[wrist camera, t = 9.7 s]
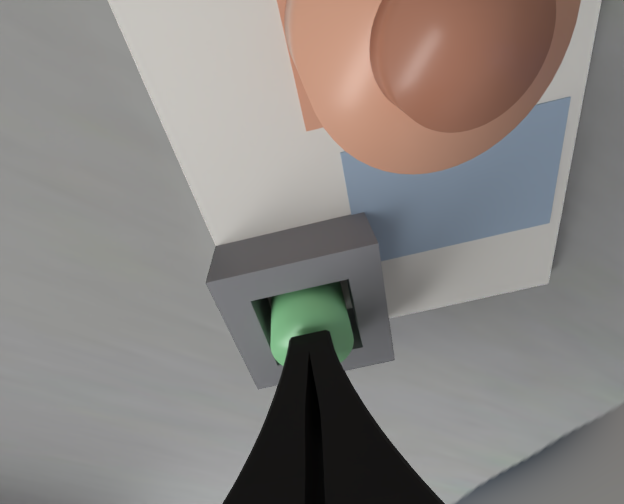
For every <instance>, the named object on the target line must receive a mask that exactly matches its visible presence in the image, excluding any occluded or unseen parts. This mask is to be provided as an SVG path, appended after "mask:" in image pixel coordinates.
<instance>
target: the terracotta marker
mask: <svg viewBox="0 0 624 504" xmlns="http://www.w3.org/2000/svg"><path fill="white" fill-rule="evenodd" d="M580 3H581V0H286V5H285V14H284V26H285V36H286V41H287V45H288V48H289V52H290V54H291V57H292V59H293V62H294V64H295V66H296V69H297V71H298V74H299V76H300V79H301V81H302V84H303V86H304V88H305V91H306V93H307V96H308V98H309V100H310V103H311V105H312V107H313V110H314V112H315V114H316V116H317V117H318V119H319V121H320V122H321V124H322V126H323V127H324V129H325V130H326V131H327V133H328V134H329V135H330V136H331V138H332V139H333V140H334V141H335V142H336V143H337V144H338V145H339V146H340V147H341V148H342V149H343V150H344V151H346V152H347V153H348V154H350V155H351V156H353V157H354V158H356V159H357V160H359V161H361V162H363V163H365V164H367V165H369V166H371V167H374V168H377V169H380V170H382V171H386V172H392V173H397V174H412V175H413V174H427V173H432V172H437V171H442V170H445V169H448V168H452V167H455V166H458V165H460V164H462V163H464V162H467V161H469V160H471V159H473V158H475V157H477V156H478V155H480V154H482V153H483V152H485V151H487V150H488V149H490V148H491V147H492V146H494V145H495V144H497V143H498V142H499V141H501V140H502V139H503V138H504V137H505V136H507V135H508V134H509V133H510V132H511V131H512V130H513V129H515V128H516V126H517V125H518V124H519V123H520V122H521V121H522V120H523V119H524V118H525V117H526V116H527V115H528V114H529V112H530V111H531V110H532V109H533V107H534V106H535V105H536V104H537V102H538V101H539V100H540V98H541V97H542V95H543V94H544V92H545V91H546V89H547V88H548V86H549V85H550V83H551V82H552V80H553V78H554V76H555V74H556V72H557V70H558V69H559V67H560V65H561V63H562V60H563V58H564V56H565V53H566V51H567V49H568V46H569V44H570V41H571V38H572V34H573V31H574V28H575V25H576V21H577V17H578V12H579V7H580Z"/></svg>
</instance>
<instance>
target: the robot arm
mask: <svg viewBox="0 0 624 504" xmlns="http://www.w3.org/2000/svg"><path fill="white" fill-rule="evenodd" d="M223 504H445V503H444V502H443V501H442V500H441V499H440V498H439V497H438V496H437V495H436V494H435V493H434V492H433V491H432V490H431V489H430V487H429V486H428V485H427V484H426V483H425V482H424V481H423V480H422V479H421V477H420V476H419V475H418V474H417V473H416V472H415V471H414V469H413V468H412V467H411V466H410V465H409V463H408V462H407V461H406V460H405V459H404V457H403V456H402V455H401V454H400V453H399V451H398V450H397V449H396V448H395V446H394V445H393V444H392V443H391V441H390V440H389V439H388V438H387V436H386V435H385V434H384V432H383V431H382V430H381V428H380V427H379V425H378V424H377V423H376V421H375V420H374V418H373V417H372V416H371V414H370V413H369V411H368V410H367V408H366V407H365V405H364V404H363V402H362V400H361V399H360V397H359V396H358V394H357V392H356V391H355V389H354V387H353V386H352V384H351V382H350V380H349V378H348V377H347V375H346V373H345V371H344V369H343V367H342V365H341V363H340V361H339V359H338V356H337V354H336V352H335V349H334V346H333V342H332V338H331V335H330V331H327V330H323V331H318V332H313V333H309V334H304V335H300V336H295V337H291V339H290V340H289V344H288V350H287V354H286V358H285V362H284V366H283V370H282V373H281V377H280V380H279V383H278V386H277V389H276V392H275V395H274V398H273V401H272V404H271V406H270V409H269V411H268V414H267V417H266V419H265V422H264V424H263V427H262V429H261V431H260V434H259V436H258V438H257V440H256V442H255V444H254V447H253V449H252V451H251V453H250V455H249V457H248V459H247V461H246V463H245V465H244V467H243V469H242V470H241V472H240V474H239V476H238V478H237V480H236V482H235V483H234V485H233V487H232V489H231V490H230V492H229V494H228V495H227V497H226V499H225V500H224V502H223Z"/></svg>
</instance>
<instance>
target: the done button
mask: <svg viewBox="0 0 624 504" xmlns="http://www.w3.org/2000/svg"><path fill="white" fill-rule="evenodd" d="M323 330H327V331H330V335H331V338H332V342H333V346H334V349H335V352H336V354H337V356H338V359H339V361H340V363H341V362H342V361H344V360H345V359H346V358H347V356H348V355H349V354H350V352H351V350H352V348H353V344H354V338H353V333H352V329H351V325H350V320H349V316H348V312H347V308H346V304H345V300H344V296H343V292H342V287H341V284H340V281H338V282H334V283H329V284H325V285H320V286H316V287H311V288H307V289H303V290H298V291H294V292H289V293H285V294H280V295H276V296H272V297H271V352H272V355H273V356H274V358H275V359H276V361H277V362H278V363H280V364H281V365H282V366H284V362H285V358H286V354H287V350H288V344H289V340H290V339H291V337H295V336H300V335H304V334H309V333H313V332H318V331H323Z"/></svg>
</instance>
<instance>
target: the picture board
mask: <svg viewBox="0 0 624 504" xmlns="http://www.w3.org/2000/svg"><path fill="white" fill-rule="evenodd" d="M601 1H602V0H581V3H580V7H579V12H578V17H577V21H576V25H575V28H574V31H573V34H572V38H571V41H570V44H569V46H568V49H567V51H566V53H565V56H564V58H563V60H562V63H561V65H560V67H559V69H558V70H557V72H556V74H555V76H554V78H553V80H552V82H551V83H550V85H549V86H548V88H547V89H546V91H545V92H544V94H543V95H542V97H541V98H540V100H539V101H538V102H537V104H536V105H535V106H534V107H533V109H532V110H531V111H530V112H529V114H528V115H527V116H526V117H525V118H524V119H523V120H522V121H521V122H520V123H519V124H518V125H517V126H516V128H515V129H513V130H512V131H511V132H510V133H509V134H508V135H507V136H505V137H504V138H503V139H502V140H501V141H499V142H498V143H497V144H495V145H494V146H492V147H491V148H490V149H488V150H487V151H485V152H483V153H482V154H480V155H478V156H477V157H475V158H473V159H471V160H469V161H467V162H464V163H462V164H460V165H458V166H455V167H452V168H448V169H445V170H442V171H437V172H432V173H427V174H413V175H412V174H397V173H392V172H386V171H382V170H380V169H377V168H374V167H371V166H369V165H367V164H365V163H363V162H361V161H359V160H357V159H356V158H354V157H353V156H351V155H350V154H348V153H347V152H346V151H344V150H343V149H342V148H341V147H340V146H339V145H338V144H337V143H336V142H335V141H334V140H333V139H332V138H331V136H330V135H329V134H328V133H327V131H326V130H325V129H324V127H323V126H322V124H321V122H320V121H319V119H318V117H317V116H316V114H315V112H314V110H313V107H312V105H311V103H310V100H309V98H308V96H307V93H306V91H305V88H304V86H303V84H302V81H301V79H300V76H299V74H298V71H297V69H296V66H295V64H294V62H293V59H292V57H291V54H290V52H289V48H288V45H287V41H286V36H285V26H284V14H285V5H286V0H108V2H109V5H110V7H111V9H112V11H113V14H114V16H115V18H116V20H117V23H118V25H119V27H120V30H121V32H122V34H123V36H124V39H125V41H126V43H127V45H128V48H129V50H130V52H131V55H132V57H133V59H134V61H135V64H136V66H137V68H138V70H139V73H140V75H141V77H142V80H143V82H144V84H145V86H146V89H147V91H148V93H149V95H150V98H151V100H152V102H153V105H154V107H155V109H156V111H157V114H158V116H159V118H160V120H161V123H162V125H163V127H164V130H165V132H166V134H167V136H168V139H169V141H170V143H171V145H172V148H173V150H174V152H175V155H176V157H177V159H178V161H179V164H180V166H181V168H182V170H183V173H184V175H185V177H186V180H187V182H188V184H189V186H190V189H191V191H192V193H193V195H194V198H195V200H196V202H197V205H198V207H199V209H200V211H201V214H202V216H203V218H204V221H205V223H206V225H207V227H208V230H209V232H210V234H211V236H212V239H213V241H214V243H215V246H216V247H215V251H214V254H213V258H212V262H211V265H210V269H209V273H208V276H207V280H206V285H207V287H208V289H209V291H210V293H211V295H212V297H213V299H214V301H215V303H216V305H217V307H218V309H219V311H220V313H221V315H222V317H223V319H224V321H225V323H226V325H227V327H228V329H229V332H230V334H231V336H232V338H233V340H234V342H235V344H236V346H237V348H238V350H239V352H240V354H241V356H242V358H243V360H244V362H245V364H246V366H247V368H248V370H249V372H250V374H251V376H252V378H253V380H254V382H255V384H256V386H257V388H258V389H262V388H266V387H271V386H276V385H278V383H279V380H280V377H281V373H282V370H283V366H282V365H281V364H280V363H278V362H277V361H276V359H275V358H274V356H273V355H272V352H271V297H272V296H276V295H280V294H285V293H289V292H294V291H298V290H303V289H307V288H311V287H316V286H320V285H325V284H329V283H334V282H338V281H340V284H341V287H342V292H343V296H344V300H345V304H346V308H347V312H348V316H349V320H350V325H351V329H352V333H353V338H354V344H353V348H352V350H351V352H350V354H349V355H348V356H347V358H346V359H345V360H344V361H342V362H341V365H342V367H343V369H344V371H346V370H351V369H355V368H360V367H365V366H369V365H374V364H379V363H384V362H388V361H393V360H395V359H394V352H393V345H392V337H391V330H390V323H389V319H390V318H395V317H399V316H404V315H408V314H413V313H418V312H422V311H427V310H431V309H436V308H440V307H445V306H449V305H454V304H459V303H463V302H468V301H472V300H477V299H481V298H486V297H491V296H495V295H500V294H504V293H509V292H513V291H518V290H522V289H527V288H532V287H536V286H541V285H545V284H549V279H550V274H551V268H552V263H553V258H554V252H555V247H556V241H557V236H558V231H559V225H560V220H561V215H562V209H563V204H564V199H565V193H566V188H567V183H568V177H569V172H570V167H571V161H572V156H573V151H574V145H575V140H576V135H577V129H578V124H579V119H580V113H581V108H582V103H583V97H584V92H585V87H586V81H587V76H588V71H589V65H590V60H591V55H592V49H593V44H594V39H595V33H596V28H597V23H598V17H599V12H600V7H601Z"/></svg>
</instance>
